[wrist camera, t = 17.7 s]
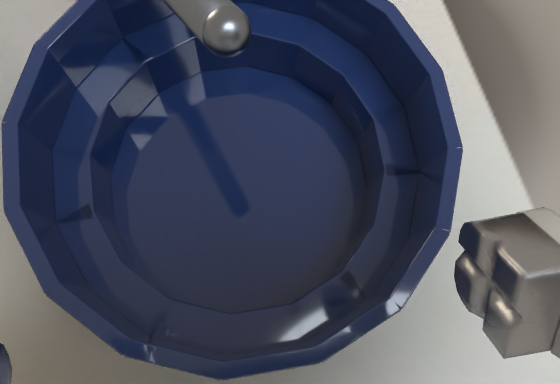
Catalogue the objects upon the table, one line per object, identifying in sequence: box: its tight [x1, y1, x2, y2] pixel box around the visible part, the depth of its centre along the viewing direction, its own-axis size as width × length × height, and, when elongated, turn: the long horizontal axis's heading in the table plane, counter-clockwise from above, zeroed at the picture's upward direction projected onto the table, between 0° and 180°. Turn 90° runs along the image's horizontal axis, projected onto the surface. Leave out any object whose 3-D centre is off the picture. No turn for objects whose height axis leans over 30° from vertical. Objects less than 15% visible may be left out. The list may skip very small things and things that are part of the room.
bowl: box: [2, 0, 463, 380], centre depth 18 cm, size 14×14×6 cm
